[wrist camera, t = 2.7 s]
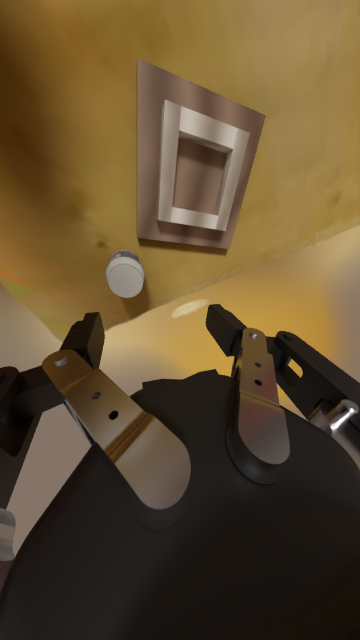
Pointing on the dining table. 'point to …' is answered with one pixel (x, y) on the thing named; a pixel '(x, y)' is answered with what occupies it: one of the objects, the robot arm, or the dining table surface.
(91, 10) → the dining table surface
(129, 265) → the pill bottle
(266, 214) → the dining table surface
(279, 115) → the dining table surface
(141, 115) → the socket block
